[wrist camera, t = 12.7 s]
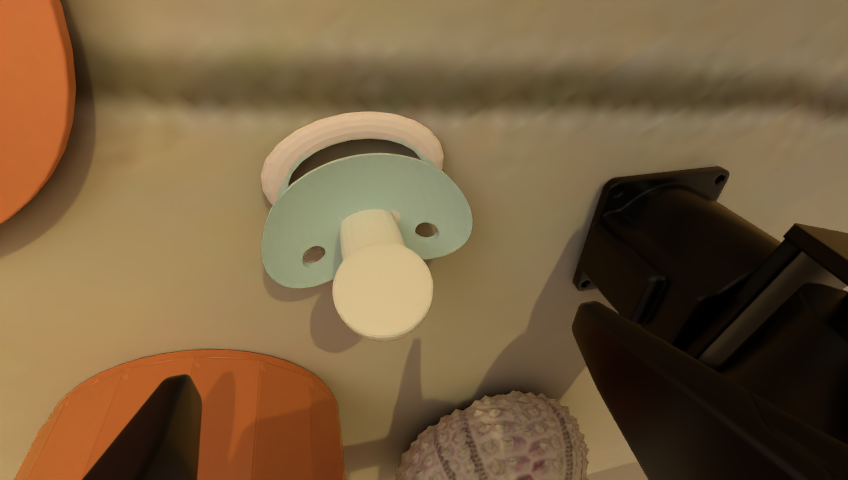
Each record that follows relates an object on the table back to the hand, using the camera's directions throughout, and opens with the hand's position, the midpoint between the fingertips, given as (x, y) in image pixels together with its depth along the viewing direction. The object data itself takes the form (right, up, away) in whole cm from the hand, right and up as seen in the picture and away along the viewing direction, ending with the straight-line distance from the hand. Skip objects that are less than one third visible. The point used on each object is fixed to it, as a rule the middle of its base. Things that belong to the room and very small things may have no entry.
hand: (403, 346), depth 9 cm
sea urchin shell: (+4, -11, +20) cm, 24 cm away
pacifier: (-2, +5, +6) cm, 8 cm away
